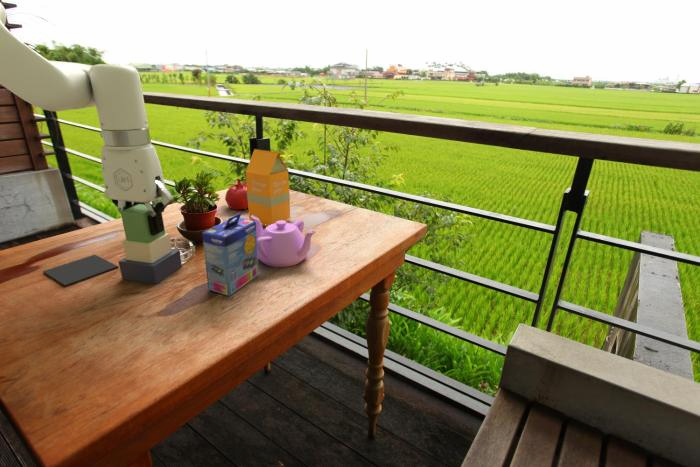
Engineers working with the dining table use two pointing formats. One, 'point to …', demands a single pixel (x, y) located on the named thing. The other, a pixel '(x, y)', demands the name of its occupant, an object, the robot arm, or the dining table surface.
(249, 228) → the ink cartridge box
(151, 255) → the cream block
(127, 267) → the navy block
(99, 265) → the mat
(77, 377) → the dining table surface
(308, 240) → the teapot
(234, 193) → the pomegranate
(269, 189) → the orange juice
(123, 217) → the green block
